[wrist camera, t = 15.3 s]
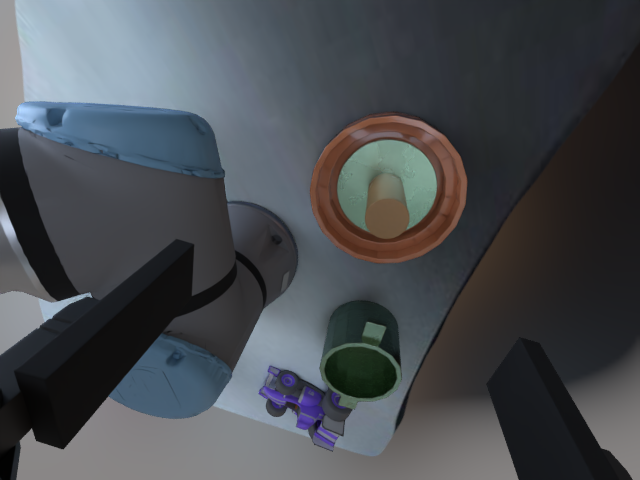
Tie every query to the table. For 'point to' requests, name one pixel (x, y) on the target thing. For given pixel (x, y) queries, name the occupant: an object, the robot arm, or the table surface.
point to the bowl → (423, 233)
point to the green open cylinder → (361, 353)
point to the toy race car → (306, 407)
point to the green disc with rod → (387, 187)
